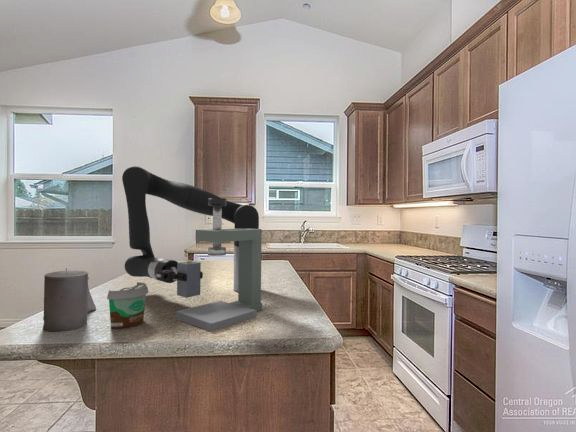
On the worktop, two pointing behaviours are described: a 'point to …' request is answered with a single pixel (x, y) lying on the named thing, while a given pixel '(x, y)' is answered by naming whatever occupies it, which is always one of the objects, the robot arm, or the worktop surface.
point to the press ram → (217, 225)
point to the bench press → (248, 288)
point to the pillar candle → (65, 300)
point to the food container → (127, 306)
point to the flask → (90, 302)
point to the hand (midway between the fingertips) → (193, 276)
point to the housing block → (189, 279)
